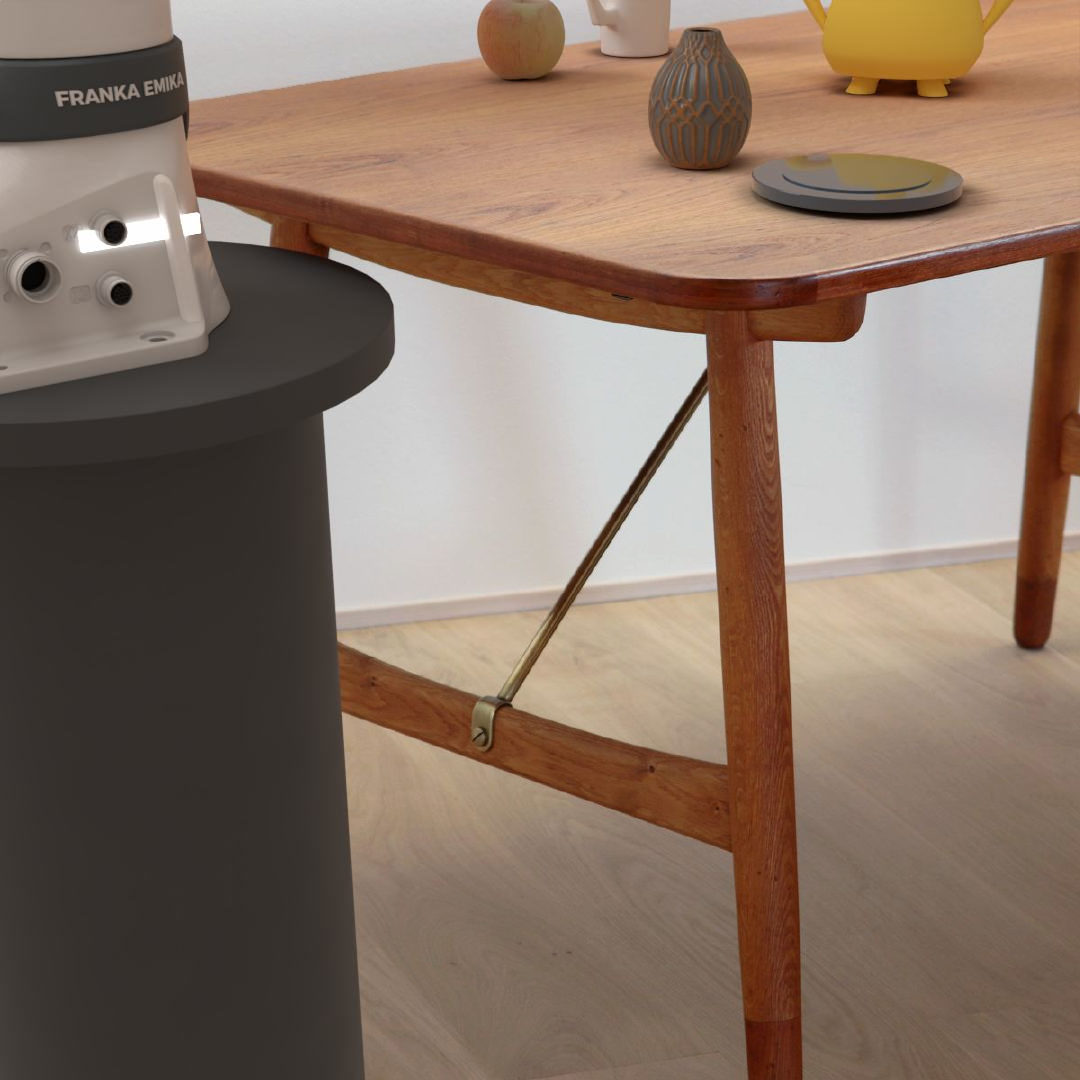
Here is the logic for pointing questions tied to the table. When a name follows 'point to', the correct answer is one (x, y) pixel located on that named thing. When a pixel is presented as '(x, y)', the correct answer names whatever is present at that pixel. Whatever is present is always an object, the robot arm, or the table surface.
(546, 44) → the fruit
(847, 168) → the plate
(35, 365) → the robot arm
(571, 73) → the table surface
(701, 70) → the vase
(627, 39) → the mug
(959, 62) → the teapot
